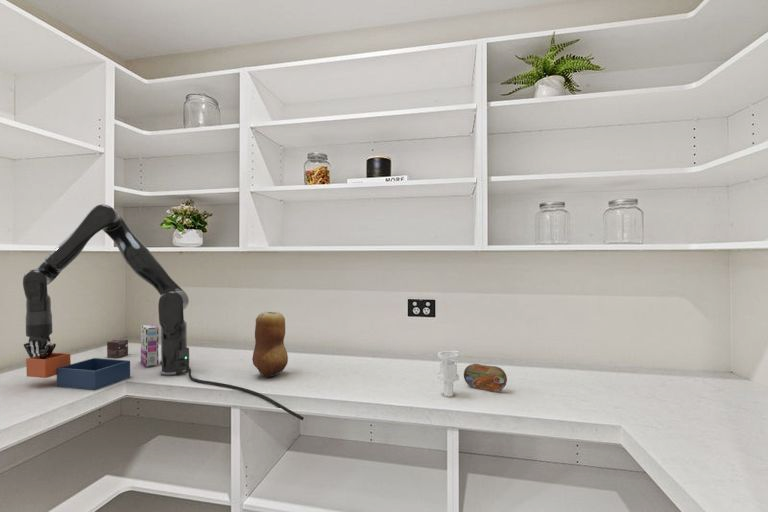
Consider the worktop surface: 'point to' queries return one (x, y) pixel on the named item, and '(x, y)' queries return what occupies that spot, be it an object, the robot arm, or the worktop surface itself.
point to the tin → (485, 377)
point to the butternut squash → (270, 344)
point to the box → (117, 348)
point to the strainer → (448, 370)
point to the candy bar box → (149, 345)
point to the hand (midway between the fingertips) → (40, 368)
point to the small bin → (46, 365)
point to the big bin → (93, 373)
